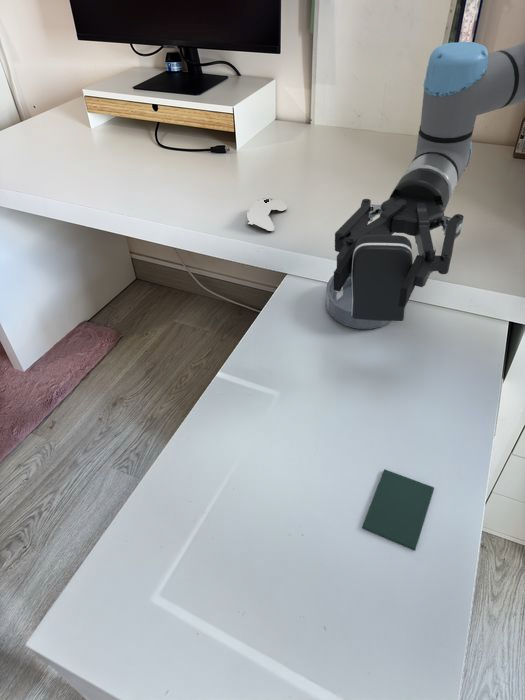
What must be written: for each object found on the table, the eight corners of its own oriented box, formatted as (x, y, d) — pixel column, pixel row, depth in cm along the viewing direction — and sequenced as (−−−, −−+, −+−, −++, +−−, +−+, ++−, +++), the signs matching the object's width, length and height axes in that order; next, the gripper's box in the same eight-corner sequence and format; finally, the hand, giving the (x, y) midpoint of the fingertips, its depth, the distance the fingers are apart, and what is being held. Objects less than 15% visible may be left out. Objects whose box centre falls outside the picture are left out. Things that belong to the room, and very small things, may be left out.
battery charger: (405, 304, 67) (414, 230, 59) (405, 323, 65) (415, 249, 56) (351, 301, 69) (354, 229, 60) (350, 320, 66) (352, 247, 58)
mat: (433, 489, 59) (434, 487, 59) (415, 550, 55) (415, 549, 54) (384, 470, 62) (384, 469, 61) (361, 528, 57) (362, 526, 57)
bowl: (410, 291, 84) (412, 274, 81) (387, 338, 77) (389, 321, 74) (342, 275, 88) (342, 259, 86) (315, 319, 81) (314, 302, 79)
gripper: (491, 228, 70) (452, 335, 57) (354, 205, 78) (291, 294, 65) (505, 178, 65) (465, 283, 52) (356, 158, 73) (288, 245, 59)
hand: (369, 289), depth 58 cm, fingers closed on battery charger, 7 cm apart
